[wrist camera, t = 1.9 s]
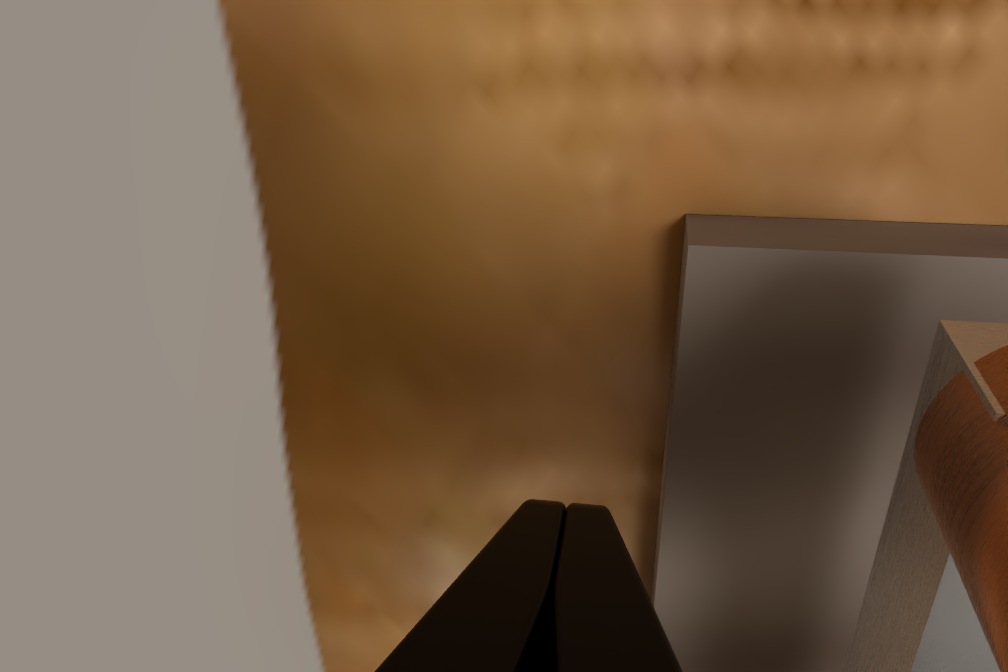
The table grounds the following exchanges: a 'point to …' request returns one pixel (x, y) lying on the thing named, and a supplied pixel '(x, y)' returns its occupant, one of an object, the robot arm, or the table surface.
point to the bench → (797, 422)
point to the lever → (946, 520)
